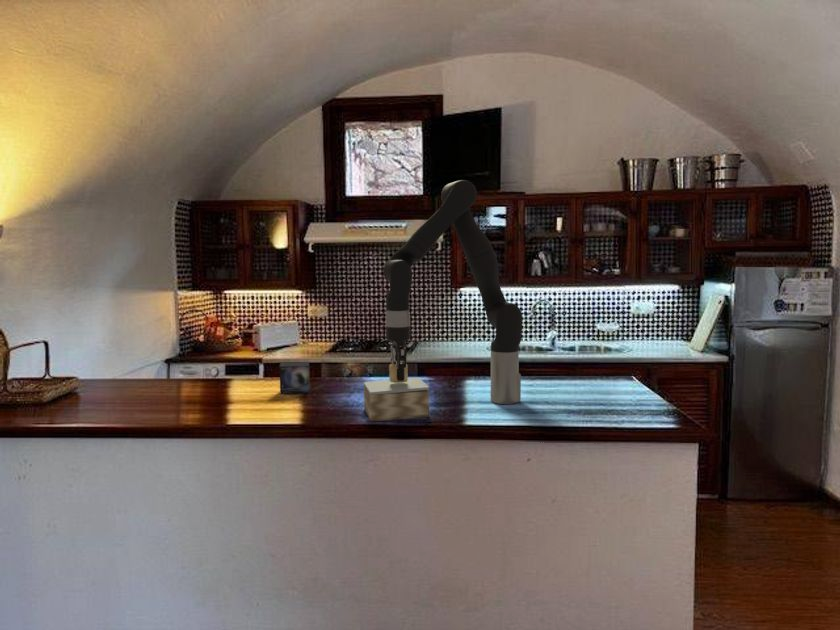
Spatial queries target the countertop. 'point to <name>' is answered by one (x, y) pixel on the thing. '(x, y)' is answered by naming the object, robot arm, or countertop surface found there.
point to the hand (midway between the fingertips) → (398, 378)
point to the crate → (396, 405)
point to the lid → (395, 386)
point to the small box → (294, 378)
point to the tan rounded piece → (394, 373)
